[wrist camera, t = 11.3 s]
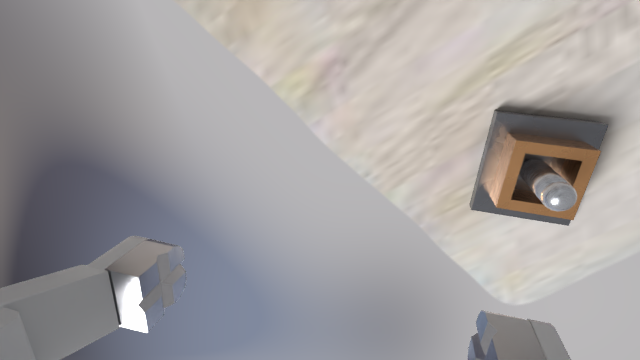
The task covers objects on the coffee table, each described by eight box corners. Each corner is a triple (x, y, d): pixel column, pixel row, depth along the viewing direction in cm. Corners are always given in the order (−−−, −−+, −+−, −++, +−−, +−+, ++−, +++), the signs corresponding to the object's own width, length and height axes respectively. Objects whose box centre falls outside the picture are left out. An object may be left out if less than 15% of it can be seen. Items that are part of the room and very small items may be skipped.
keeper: (494, 110, 33) (519, 130, 25) (601, 122, 31) (662, 147, 23) (469, 204, 37) (484, 246, 29) (563, 220, 35) (605, 268, 27)
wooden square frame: (507, 132, 32) (516, 140, 29) (584, 141, 31) (601, 151, 28) (489, 194, 35) (495, 207, 32) (560, 205, 33) (573, 220, 31)
